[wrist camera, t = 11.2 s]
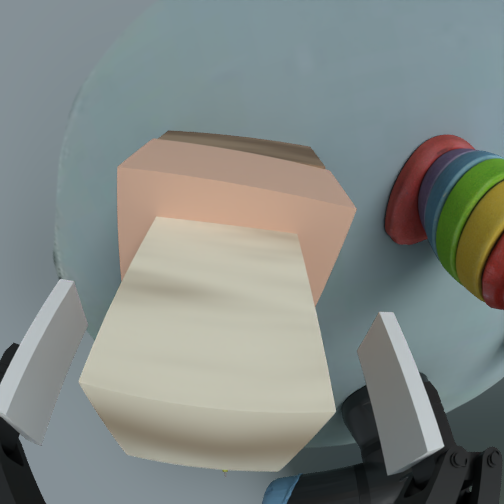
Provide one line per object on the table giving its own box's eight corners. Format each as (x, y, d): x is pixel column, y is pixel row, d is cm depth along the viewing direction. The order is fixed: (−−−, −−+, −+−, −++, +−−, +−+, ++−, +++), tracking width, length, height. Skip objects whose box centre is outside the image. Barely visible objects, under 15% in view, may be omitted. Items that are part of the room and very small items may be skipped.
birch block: (270, 328, 16) (278, 471, 9) (161, 315, 15) (127, 454, 9) (297, 233, 13) (336, 411, 6) (156, 216, 12) (78, 381, 6)
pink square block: (284, 300, 22) (291, 355, 17) (147, 278, 20) (127, 331, 16) (329, 170, 16) (357, 209, 12) (153, 138, 15) (117, 166, 11)
